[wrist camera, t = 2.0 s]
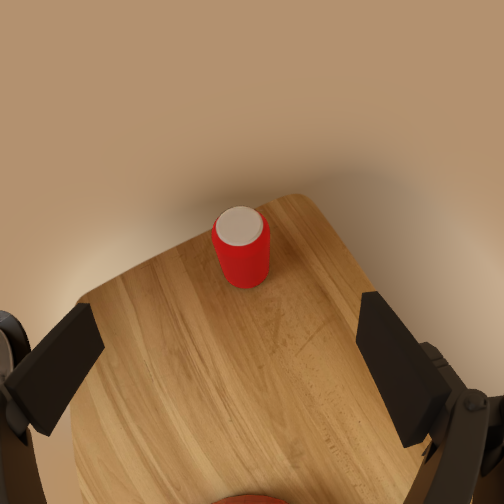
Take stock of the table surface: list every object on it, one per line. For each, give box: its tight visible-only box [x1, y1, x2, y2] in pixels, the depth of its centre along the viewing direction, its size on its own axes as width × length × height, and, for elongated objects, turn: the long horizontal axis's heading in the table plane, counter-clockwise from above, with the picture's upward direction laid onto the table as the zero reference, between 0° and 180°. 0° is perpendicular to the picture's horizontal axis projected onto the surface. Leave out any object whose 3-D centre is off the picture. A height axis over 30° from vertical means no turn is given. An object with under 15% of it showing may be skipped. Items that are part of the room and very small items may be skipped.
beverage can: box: [212, 206, 270, 288], centre depth 34 cm, size 6×6×12 cm
